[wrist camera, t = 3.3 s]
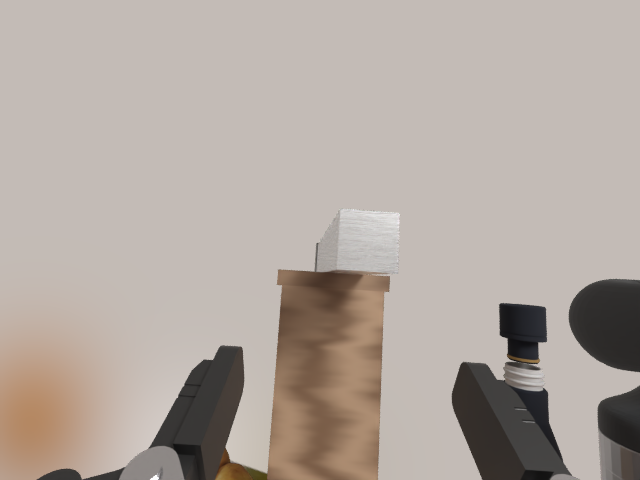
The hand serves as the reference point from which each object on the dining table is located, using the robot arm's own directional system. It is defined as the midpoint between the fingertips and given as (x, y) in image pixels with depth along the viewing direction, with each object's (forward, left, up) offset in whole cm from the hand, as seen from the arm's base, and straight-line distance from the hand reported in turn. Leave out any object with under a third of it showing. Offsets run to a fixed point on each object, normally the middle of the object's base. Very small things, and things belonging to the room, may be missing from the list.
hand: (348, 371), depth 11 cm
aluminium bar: (-1, -20, +4) cm, 20 cm away
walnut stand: (0, -25, -28) cm, 38 cm away
